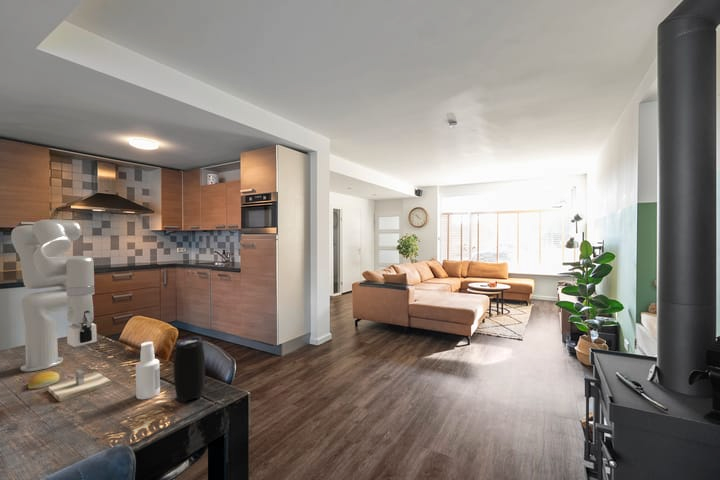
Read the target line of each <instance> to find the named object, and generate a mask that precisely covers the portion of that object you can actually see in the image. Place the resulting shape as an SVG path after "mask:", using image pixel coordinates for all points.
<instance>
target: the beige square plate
mask: <svg viewBox="0 0 720 480" xmlns="http://www.w3.org/2000/svg"><path fill="white" fill-rule="evenodd" d="M111 385H112V380H111V379H109V378H107V377H106V376H105V375H103V374H101V373H100V372H98V371H94V372H92V373H89V374H85V372H84V371H83V370H82V369H78V370H75V378H72V379H69V380H68V379H67V380H66V381H65V380H64V381H62V382H58V383H54V384H52V385H49V386H47V391H48V393H49V394H51V395H52V396H53V397H54V398H55V399H56V400H57V401H58V402H60V403H61V402H64V401H68V400H70V399H73V398H76V397H79V396H82V395H84V394H88V393H91V392H93V391H94V392H95V391H96V390H100V389H102V388H105V387H108V386H111Z"/></svg>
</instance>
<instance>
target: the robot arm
mask: <svg viewBox="0 0 720 480" xmlns="http://www.w3.org/2000/svg"><path fill="white" fill-rule="evenodd" d="M81 235H82V227H81V226H80V224H79V223H78V222H77V221H75V220H71V219H70V220H69V219H40V220H38V221H35V222H34V223H33V224H28V225H27V224H26V225H25V224H24V225H20V226H16V227H14V228H13V229H12V230H11V235H10V236H11V237H10V239H11V243H12V246H13V248H14V249H15V251H16V253H17V255H18V257H19V259H20V265H21V275H22V282H23V285H24V287H25V288H26V289H29V290H37V289H38V290H39V289H47V288H49V289H50V288H57V287H58V288H59V289H54V290H53V289H52V290H51V289H50V290H42V291H36V292H31V293H28V294H26V295H24V296H23V297H22V298H21V299H20V309H21V312H22V317H23V322H24V342H25V347H24V349H25V363H24V364H23V365H21V367H20V371H21V372H26V373H27V372H35V371H41V370H47V369H49V368H53V367H55V366H58V365H60V364H61V363H63V361H64V359H63V357H60V356H59V354H58V353H59V352H58V351H59V349H58V345H59V344H58V323H57V321H56V319H55V318H53V317H52V316H51V315H49V314H52V313H56V312H62V311H67V318H66V319H67V322H69V323H71V324H72V325H78V324H80V329H81V332H80V343H84V342H88V341H91V340H92V327H91V326H92V323H93V321H94V317H95V316H94V301H93V295H95V271H94V270H95V267H94V265H95V263H94V262H95V261H94V258H92V257H90V256H84V255H65V256H59V255H62V254H64V253H66V252H67V251H70V249H71V247H72V242H75V241H77V240H79V238H80V237H81ZM84 324H86V325H84ZM83 325H84V328H83Z"/></svg>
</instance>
